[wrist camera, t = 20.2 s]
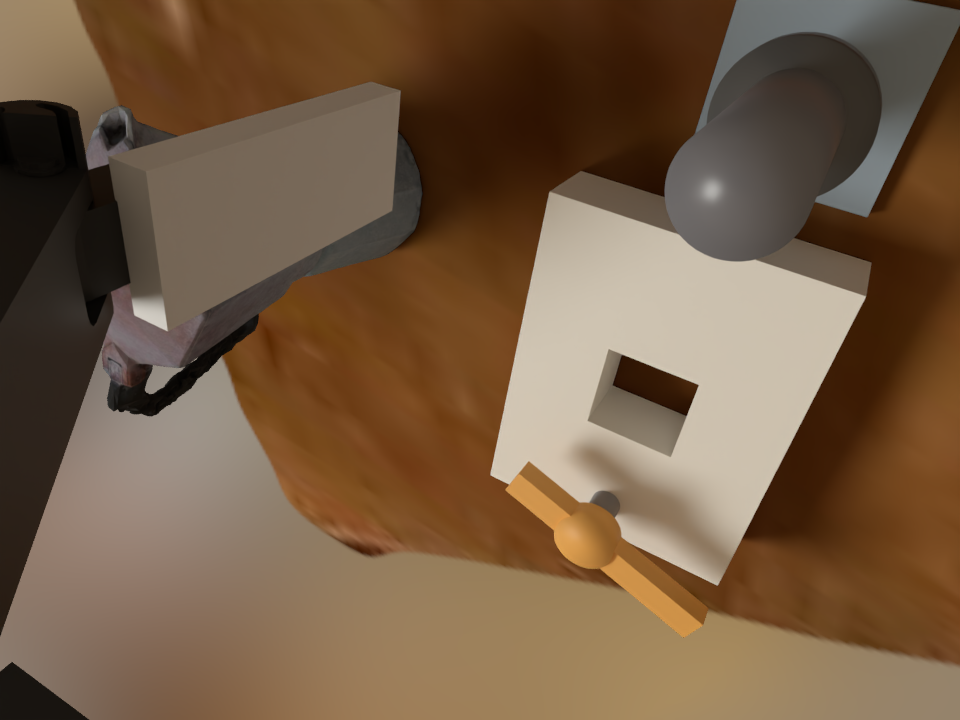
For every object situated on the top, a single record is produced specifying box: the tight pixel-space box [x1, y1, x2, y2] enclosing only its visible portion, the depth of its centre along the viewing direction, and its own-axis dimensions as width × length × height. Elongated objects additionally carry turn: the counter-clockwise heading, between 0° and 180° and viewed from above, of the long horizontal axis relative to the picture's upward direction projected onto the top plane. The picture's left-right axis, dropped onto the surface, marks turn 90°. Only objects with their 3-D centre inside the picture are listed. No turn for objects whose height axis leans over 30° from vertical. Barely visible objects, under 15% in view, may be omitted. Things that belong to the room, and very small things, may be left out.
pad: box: [695, 0, 960, 217], centre depth 30 cm, size 8×8×1 cm
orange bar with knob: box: [506, 461, 708, 638], centre depth 37 cm, size 12×3×1 cm, turn 61°
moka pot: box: [86, 105, 423, 416], centre depth 36 cm, size 10×15×20 cm, turn 170°
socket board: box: [491, 171, 872, 586], centre depth 37 cm, size 18×14×6 cm
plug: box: [665, 32, 882, 262], centre depth 24 cm, size 6×6×15 cm
